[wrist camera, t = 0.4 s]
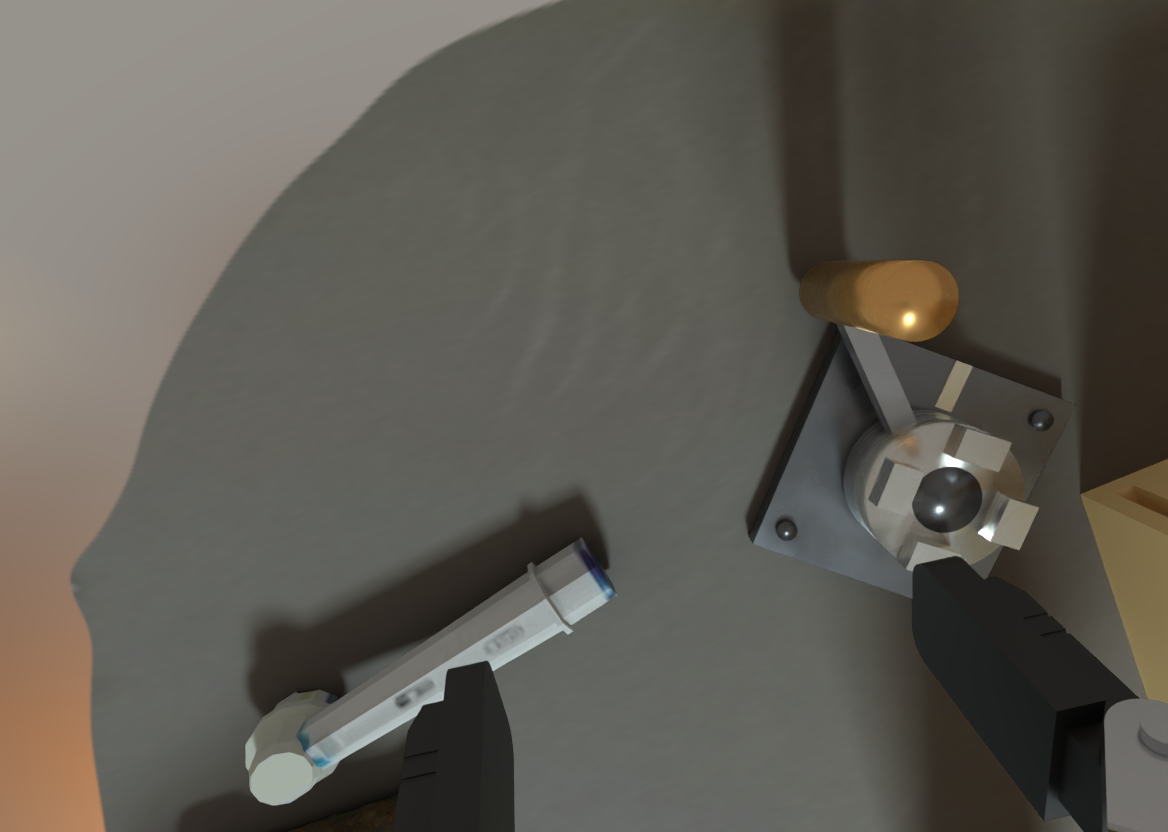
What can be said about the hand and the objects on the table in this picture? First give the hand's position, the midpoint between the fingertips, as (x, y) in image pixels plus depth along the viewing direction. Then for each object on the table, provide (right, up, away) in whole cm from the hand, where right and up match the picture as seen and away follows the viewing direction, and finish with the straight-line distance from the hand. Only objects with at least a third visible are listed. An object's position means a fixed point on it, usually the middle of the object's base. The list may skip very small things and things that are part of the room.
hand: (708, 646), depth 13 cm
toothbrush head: (-12, -11, +33) cm, 37 cm away
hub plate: (+17, +1, +30) cm, 34 cm away
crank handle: (+14, +5, +27) cm, 31 cm away
